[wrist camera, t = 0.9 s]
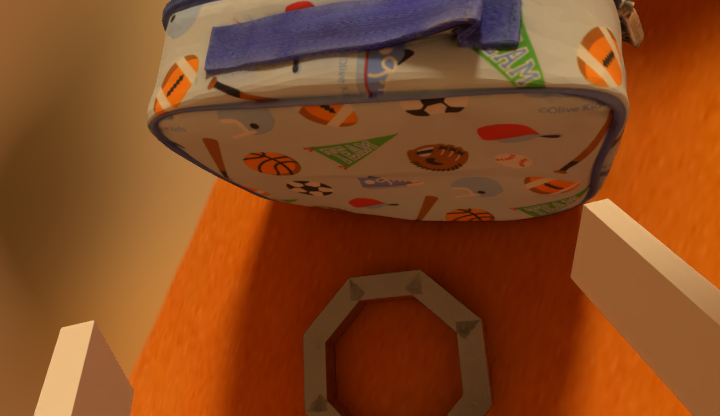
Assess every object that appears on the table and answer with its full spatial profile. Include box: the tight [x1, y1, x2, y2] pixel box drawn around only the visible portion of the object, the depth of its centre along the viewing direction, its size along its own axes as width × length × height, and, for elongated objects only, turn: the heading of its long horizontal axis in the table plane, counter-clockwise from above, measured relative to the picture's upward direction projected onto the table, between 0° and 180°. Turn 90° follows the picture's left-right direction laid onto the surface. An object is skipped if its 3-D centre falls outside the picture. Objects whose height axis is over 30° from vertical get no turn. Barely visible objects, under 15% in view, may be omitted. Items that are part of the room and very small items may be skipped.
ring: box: [303, 270, 494, 416], centre depth 38 cm, size 14×14×2 cm
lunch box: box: [147, 0, 644, 221], centre depth 33 cm, size 28×10×22 cm, turn 85°
